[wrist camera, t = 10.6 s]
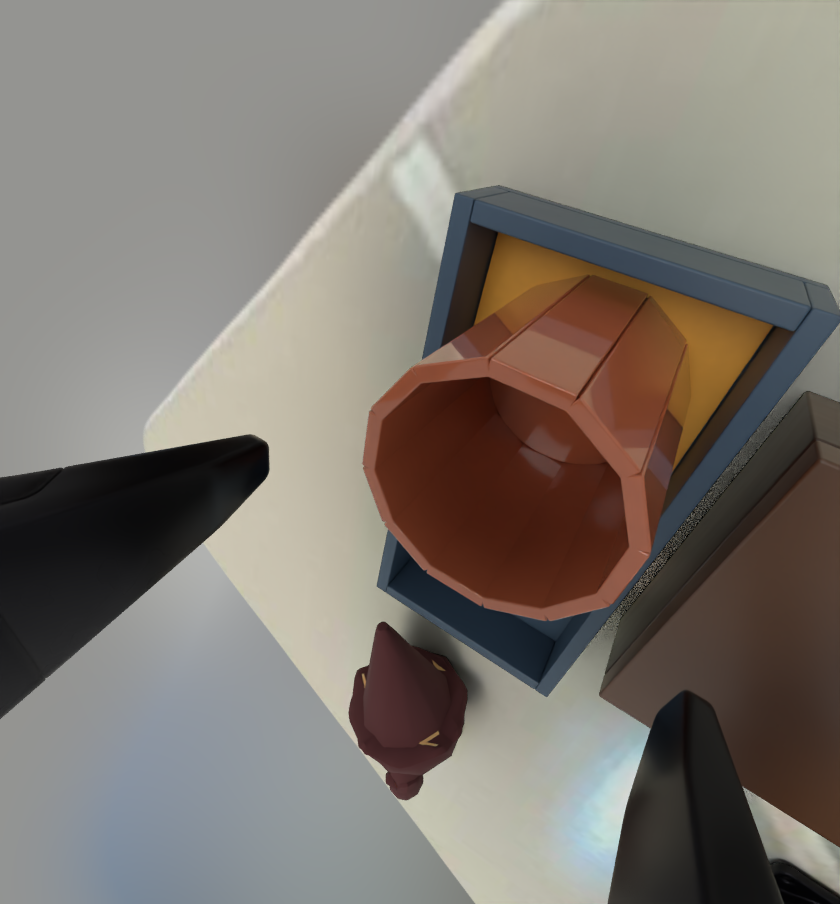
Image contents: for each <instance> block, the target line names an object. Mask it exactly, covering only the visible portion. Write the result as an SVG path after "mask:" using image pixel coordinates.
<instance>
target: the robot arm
mask: <svg viewBox="0 0 840 904" xmlns="http://www.w3.org/2000/svg"><path fill="white" fill-rule="evenodd" d="M268 473H269V446H268V444H267V442H265V441H264V440H262V439H260V438H259V437H257V436H255V435H251V434H250V435H243V436H237V437H232V438H226V439H220V440H215V441H209V442H203V443H198V444H192V445H186V446H181V447H175V448H170V449H164V450H158V451H153V452H147V453H141V454H136V455H130V456H125V457H119V458H113V459H108V460H102V461H96V462H91V463H85V464H79V465H74V466H68V467H65V468H64V469H63V468H56V469H51V470H45V471H40V472H33V473H27V474H21V475H15V476H8V477H1V478H0V719H1V718H2V717H3V716H4V715H5V714H7V713H8V712H9V711H10V710H11V709H12V708H14V707H15V706H16V705H17V704H18V703H19V702H20V701H22V700H23V699H24V698H25V697H26V696H27V695H29V694H30V693H31V692H32V691H33V690H34V689H35V688H37V687H38V686H39V685H40V684H41V683H42V682H43V681H45V678H47V677H49V676H50V675H51V674H52V673H53V672H55V671H56V670H57V669H58V668H59V667H60V666H62V665H63V664H64V663H65V662H66V661H67V660H68V659H70V658H71V657H72V656H73V655H74V654H75V653H76V652H78V651H79V650H80V649H81V648H82V647H83V646H84V645H86V644H87V643H88V642H89V641H90V640H91V639H92V638H93V637H95V636H96V635H97V634H98V633H99V632H101V631H102V630H103V629H104V628H105V627H106V626H107V625H109V624H110V623H111V622H112V621H113V620H114V619H116V618H117V617H118V616H119V615H120V614H121V613H122V612H124V611H125V610H126V609H127V608H128V607H129V606H130V605H132V604H133V603H134V602H135V601H136V600H137V599H138V598H140V597H141V596H142V595H143V594H144V593H145V592H147V591H148V590H149V589H150V588H151V587H152V586H153V585H154V584H156V583H157V582H158V581H159V580H160V579H161V578H162V577H164V576H165V575H166V574H167V573H168V572H169V571H171V570H172V569H173V568H174V567H175V566H176V565H177V564H179V563H180V562H181V561H182V560H183V559H184V558H186V557H187V556H188V555H189V554H190V553H191V552H193V550H195V549H196V548H197V547H198V546H199V545H201V544H202V543H203V542H204V541H205V540H206V539H207V538H209V537H210V536H211V535H212V534H213V533H214V532H215V531H216V530H217V529H219V528H220V527H221V526H222V525H223V524H224V523H225V522H226V521H227V520H228V519H229V518H230V516H231V515H232V514H233V513H234V512H235V511H236V510H237V509H238V508H239V507H240V506H241V505H242V504H243V503H244V502H245V500H246V499H247V498H248V497H249V496H250V495H251V494H252V493H253V492H254V491H255V490H256V489H257V488H258V487H259V486H260V484H261V483H262V482H263V481H264V480H265V479H266V477H267V476H268ZM608 904H840V899H839V898H838V897H836V896H835V895H833V894H832V893H830V892H829V891H827V890H826V889H824V888H823V887H821V886H820V885H818V884H817V883H815V882H814V881H812V880H811V879H809V878H808V877H806V876H805V875H803V874H801V873H800V872H798V871H797V870H795V869H794V868H792V867H790V866H788V865H786V864H782V863H775V864H772V865H770V863H769V861H768V858H767V855H766V852H765V849H764V847H763V844H762V841H761V838H760V835H759V833H758V830H757V827H756V824H755V821H754V819H753V816H752V813H751V810H750V807H749V805H748V802H747V799H746V796H745V793H744V791H743V788H742V785H741V782H740V779H739V777H738V774H737V771H736V768H735V765H734V763H733V760H732V757H731V754H730V751H729V749H728V746H727V743H726V740H725V737H724V734H723V732H722V729H721V726H720V723H719V720H718V718H717V715H716V712H715V710H714V708H713V706H712V705H711V704H710V703H709V702H708V701H707V700H705V699H703V698H702V697H700V696H698V695H696V694H695V693H693V692H691V691H689V690H682V691H681V692H679V693H678V694H677V695H676V696H675V697H673V698H672V699H671V700H670V701H669V702H668V703H666V704H665V705H664V706H663V707H662V708H661V709H660V710H659V711H658V712H657V714H656V716H655V718H654V721H653V724H652V727H651V730H650V733H649V736H648V739H647V742H646V745H645V749H644V752H643V755H642V758H641V761H640V764H639V767H638V770H637V774H636V777H635V780H634V783H633V786H632V789H631V792H630V796H629V799H628V802H627V806H626V810H625V814H624V819H623V824H622V829H621V834H620V840H619V845H618V850H617V856H616V861H615V866H614V872H613V877H612V882H611V888H610V893H609V898H608Z"/></svg>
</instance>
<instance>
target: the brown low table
mask: <svg viewBox="0 0 840 904" xmlns="http://www.w3.org/2000/svg"><path fill="white" fill-rule="evenodd" d="M682 690H689V691H691V692H693V693H695V694H696V695H698V696H700V697H702V698H703V699H705V700H707V701H708V702H709V703H710V704H711V705H712V706H713V708H714V710H715V712H716V715H717V718H718V720H719V723H720V726H721V729H722V732H723V734H724V737H725V740H726V743H727V746H728V749H729V751H730V754H731V757H732V760H733V763H734V765H735V768H736V771H737V774H738V777H739V779H740V782H741V785H742V786H743V787H744V788H746V789H748V790H749V791H751V792H752V793H754V794H756V795H757V796H759V797H760V798H762V799H764V800H765V801H767V802H768V803H770V804H772V805H773V806H775V807H776V808H778V809H779V810H781V811H783V812H784V813H786V814H787V815H789V816H791V817H792V818H794V819H795V820H797V821H799V822H800V823H802V824H803V825H805V826H807V827H808V828H810V829H811V830H813V831H814V832H816V833H818V834H819V835H821V836H822V837H824V838H826V839H827V840H829V841H830V842H832V843H834V844H835V845H837V846H838V847H840V403H839V402H836V401H834V400H831V399H828V398H826V397H823V396H820V395H818V394H815V393H812V392H808V391H807V392H805V393H804V394H803V396H802V397H801V398H800V399H799V401H798V402H797V403H796V404H795V405H794V407H793V408H792V409H791V410H790V412H789V413H788V414H787V415H786V417H785V418H784V419H783V420H782V421H781V423H780V424H779V425H778V426H777V428H776V429H775V430H774V431H773V432H772V434H771V435H770V436H769V437H768V439H767V440H766V441H765V442H764V444H763V445H762V446H761V447H760V448H759V450H758V451H757V452H756V453H755V455H754V456H753V457H752V458H751V460H750V461H749V462H748V463H747V464H746V466H745V467H744V468H743V469H742V471H741V472H740V473H739V474H738V476H737V477H736V478H735V479H734V480H733V482H732V483H731V484H730V485H729V487H728V488H727V489H726V490H725V492H724V493H723V494H722V495H721V496H720V498H719V499H718V500H717V501H716V503H715V504H714V505H713V506H712V507H711V509H710V510H709V511H708V512H707V514H706V515H705V516H704V517H703V519H702V520H701V521H700V522H699V523H698V525H697V526H696V527H695V528H694V530H693V531H692V532H691V533H690V535H689V536H688V537H687V538H686V539H685V541H684V542H683V543H682V544H681V546H680V547H679V548H678V549H677V551H676V552H675V553H674V554H673V555H672V557H671V558H670V559H669V560H668V562H667V563H666V564H665V565H664V566H663V568H662V569H661V570H660V571H659V573H658V574H657V575H656V576H655V578H654V579H653V580H652V581H651V582H650V584H649V585H648V586H647V587H646V589H645V590H644V591H643V592H642V594H641V595H640V596H639V597H638V598H637V600H636V601H635V602H634V603H633V605H632V606H631V607H630V608H629V610H628V611H627V612H626V613H625V614H624V616H623V617H622V618H621V619H620V622H619V625H618V629H617V632H616V636H615V639H614V643H613V646H612V650H611V653H610V657H609V660H608V664H607V667H606V671H605V676H604V678H603V682H602V685H601V689H600V692H599V696H600V697H601V698H603V699H604V700H606V701H608V702H609V703H611V704H612V705H614V706H616V707H617V708H619V709H620V710H622V711H624V712H625V713H627V714H628V715H630V716H632V717H633V718H635V719H636V720H638V721H639V722H641V723H643V724H644V725H646V726H647V727H649V728H651V727H652V724H653V721H654V718H655V716H656V714H657V712H658V711H659V710H660V709H661V708H662V707H663V706H664V705H665V704H666V703H668V702H669V701H670V700H671V699H672V698H673V697H675V696H676V695H677V694H678V693H679V692H681V691H682Z"/></svg>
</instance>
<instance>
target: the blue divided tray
mask: <svg viewBox="0 0 840 904" xmlns="http://www.w3.org/2000/svg"><path fill="white" fill-rule="evenodd" d="M587 274H589V275H590V276H591V275H596V276H599V277H602V278H605V279H607V280H610V281H613V282H616V283H619V284H622V285H625V286H628V287H631V288H634V289H636V290H639V291H642V292H645V293H647V294H648V296H647V297H649V296H652V297H653V299H654V300H655V301H656V302H657V304H658V305H659V306H660V307H661V309H662V310H663V311H664V312H665V314H666V315H667V316H668V317H669V319H670V320H671V321H672V322H673V324H674V325H675V326H676V327H677V329H678V330H679V331H680V332H681V334H682V335H683V336H684V338H685V339H686V340H687V342H686V344H688V347H689V365H690V384H691V399H690V403H689V407H688V411H687V415H686V419H685V423H684V426H683V430H682V434H681V438H680V442H679V446H678V450H677V454H676V457H675V461H674V465H673V469H672V473H671V477H670V481H669V485H668V489H667V492H666V496H665V500H664V504H663V508H662V512H661V516H660V520H659V523H658V527H657V531H656V535H655V539H654V543H653V547H652V550H651V554H650V557H649V558H648V559H647V561H646V562H645V563H644V565H643V566H642V567H641V568H640V570H639V571H638V572H637V574H636V575H635V576H634V578H633V579H632V580H631V582H630V583H629V584H628V586H627V587H626V588H625V589H624V591H623V592H622V593H621V595H620V596H619V597H618V599H617V600H616V601H615V603H614V604H610V606H609V607H606V608H602V609H598V610H594V611H590V612H586V613H582V614H578V615H574V616H570V617H566V618H562V619H558V620H554V621H549V620H548V619H547V621H542V620H538V619H533V618H529V617H524V616H519V615H515V614H510V613H505V612H501V611H496V610H492V609H487V608H484V606H483V605H482V606H479V605H478V604H476V603H474V602H473V601H471V600H469V599H468V598H466V597H465V596H463V595H461V594H460V593H458V592H456V591H455V590H453V589H452V588H450V587H448V586H447V585H445V584H443V583H442V582H440V581H439V580H437V579H435V578H434V577H432V576H430V575H429V574H427V570H425V571H424V570H423V569H422V568H421V567H420V566H419V565H418V563H417V562H416V561H415V560H414V559H413V557H412V556H411V555H410V554H409V553H408V552H407V550H406V549H405V548H404V547H403V546H402V545H401V543H400V542H399V541H398V540H397V539H396V538H395V536H394V535H393V534H392V533H391V532H390V531H389V529H388V532H387V537H386V542H385V547H384V552H383V557H382V562H381V567H380V572H379V577H378V582H377V587H378V588H380V589H381V590H383V591H384V592H386V593H387V594H389V595H391V596H392V597H394V598H395V599H397V600H398V601H400V602H401V603H403V604H404V605H406V606H407V607H409V608H410V609H412V610H414V611H415V612H417V613H418V614H420V615H421V616H423V617H424V618H426V619H427V620H429V621H430V622H432V623H433V624H435V625H437V626H438V627H440V628H441V629H443V630H444V631H446V632H447V633H449V634H450V635H452V636H453V637H455V638H456V639H458V640H460V641H461V642H463V643H464V644H466V645H467V646H469V647H470V648H472V649H473V650H475V651H476V652H478V653H479V654H481V655H483V656H484V657H486V658H487V659H489V660H490V661H492V662H493V663H495V664H496V665H498V666H499V667H501V668H502V669H504V670H506V671H507V672H509V673H510V674H512V675H513V676H515V677H516V678H518V679H519V680H521V681H522V682H524V683H525V684H527V685H528V686H530V687H532V688H533V689H535V690H536V691H538V692H539V693H541V694H542V695H544V696H545V697H547V696H548V695H549V694H550V693H551V691H552V690H553V689H554V687H555V686H556V685H557V684H558V682H559V681H560V680H561V679H562V677H563V676H564V675H565V673H566V672H567V671H568V670H569V668H570V667H571V666H572V664H573V663H574V662H575V661H576V659H577V658H578V657H579V656H580V654H581V653H582V652H583V650H584V649H585V648H586V647H587V645H588V644H589V643H590V641H591V640H592V639H593V638H594V636H595V635H596V634H597V633H598V631H599V630H600V629H601V627H602V626H603V625H604V624H605V622H606V621H607V620H608V618H609V617H610V616H611V615H612V613H613V612H614V611H615V609H616V608H617V607H618V606H619V604H620V603H621V602H622V601H623V599H624V598H625V597H626V595H627V594H628V593H629V592H630V590H631V589H632V588H633V586H634V585H635V584H636V583H637V581H638V580H639V579H640V578H641V576H642V575H643V574H644V572H645V571H646V570H647V569H648V567H649V566H650V565H651V563H652V562H653V561H654V560H655V558H656V557H657V556H658V555H659V553H660V552H661V551H662V549H663V548H664V547H665V546H666V544H667V543H668V542H669V540H670V539H671V538H672V537H673V535H674V534H675V533H676V532H677V530H678V529H679V528H680V526H681V525H682V524H683V523H684V521H685V520H686V519H687V517H688V516H689V515H690V514H691V512H692V511H693V510H694V509H695V507H696V506H697V505H698V503H699V502H700V501H701V500H702V498H703V497H704V496H705V494H706V493H707V492H708V491H709V489H710V488H711V487H712V486H713V484H714V483H715V482H716V480H717V479H718V478H719V477H720V475H721V474H722V473H723V471H724V470H725V469H726V468H727V466H728V465H729V464H730V463H731V461H732V460H733V459H734V457H735V456H736V455H737V454H738V452H739V451H740V450H741V448H742V447H743V446H744V445H745V443H746V442H747V441H748V440H749V438H750V437H751V436H752V434H753V433H754V432H755V431H756V429H757V428H758V427H759V425H760V424H761V423H762V422H763V420H764V419H765V418H766V416H767V415H768V414H769V413H770V411H771V410H772V409H773V408H774V406H775V405H776V404H777V402H778V401H779V400H780V399H781V397H782V396H783V395H784V393H785V392H786V391H787V390H788V388H789V387H790V386H791V385H792V383H793V382H794V381H795V379H796V378H797V377H798V376H799V374H800V373H801V372H802V370H803V369H804V368H805V367H806V365H807V364H808V363H809V362H810V360H811V359H812V358H813V356H814V355H815V354H816V353H817V351H818V350H819V349H820V347H821V346H822V345H823V344H824V342H825V341H826V340H827V339H828V337H829V336H830V335H831V333H832V332H833V331H834V330H835V328H836V327H837V326H838V324H839V323H840V310H839V308H838V306H837V303H836V301H835V299H834V297H833V295H832V293H831V291H830V289H829V287H828V286H827V285H825V284H821V283H818V282H815V281H812V280H808V279H805V278H802V277H798V276H795V275H792V274H789V273H785V272H782V271H779V270H775V269H772V268H769V267H766V266H762V265H759V264H756V263H753V262H749V261H746V260H743V259H739V258H736V257H733V256H730V255H726V254H723V253H720V252H716V251H713V250H710V249H707V248H703V247H700V246H697V245H693V244H690V243H687V242H684V241H680V240H677V239H674V238H671V237H667V236H664V235H661V234H657V233H654V232H651V231H648V230H644V229H641V228H638V227H634V226H631V225H628V224H625V223H621V222H618V221H615V220H612V219H608V218H605V217H602V216H598V215H595V214H592V213H589V212H585V211H582V210H579V209H575V208H572V207H569V206H566V205H562V204H559V203H556V202H552V201H549V200H546V199H543V198H539V197H536V196H533V195H530V194H526V193H523V192H520V191H516V190H513V189H510V188H507V187H503V186H500V185H498V186H492V187H486V188H481V189H475V190H470V191H464V192H459V193H455V197H454V202H453V207H452V212H451V217H450V222H449V227H448V232H447V237H446V242H445V247H444V252H443V257H442V262H441V267H440V272H439V277H438V282H437V287H436V292H435V297H434V302H433V307H432V312H431V317H430V322H429V327H428V332H427V337H426V342H425V347H424V352H423V357H422V360H423V359H424V358H426V357H428V356H429V355H431V354H432V353H434V352H435V351H437V350H438V349H440V348H441V347H443V346H444V345H446V344H447V343H449V342H450V341H452V340H453V339H455V338H456V337H458V336H459V335H461V334H462V333H464V332H465V331H467V330H468V329H470V328H471V327H473V326H474V325H476V324H477V323H479V322H480V321H482V320H484V319H485V318H487V317H488V316H490V315H491V314H493V313H494V312H496V311H497V310H499V309H500V308H502V307H503V306H505V305H506V304H508V303H509V302H511V301H512V300H514V299H515V298H517V297H518V296H520V295H521V294H523V293H524V292H526V291H527V290H529V289H530V288H532V287H534V286H536V285H540V284H544V283H549V282H554V281H559V280H564V279H568V278H573V277H578V276H583V275H587Z"/></svg>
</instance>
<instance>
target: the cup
mask: <svg viewBox="0 0 840 904" xmlns="http://www.w3.org/2000/svg"><path fill="white" fill-rule="evenodd" d="M647 296H648V294H647V293H645V292H642V291H639V290H636V289H634V288H631V287H628V286H625V285H622V284H619V283H616V282H613V281H610V280H607V279H605V278H602V277H599V276H596V275H591V276H590V275H589V274H587V275H583V276H578V277H573V278H568V279H564V280H559V281H554V282H549V283H544V284H540V285H536V286H534V287H532V288H530V289H529V290H527V291H526V292H524V293H523V294H521V295H520V296H518V297H517V298H515V299H514V300H512V301H511V302H509V303H508V304H506V305H505V306H503V307H502V308H500V309H499V310H497V311H496V312H494V313H493V314H491V315H490V316H488V317H487V318H485V319H484V320H482V321H480V322H479V323H477V324H476V325H474V326H473V327H471V328H470V329H468V330H467V331H465V332H464V333H462V334H461V335H459V336H458V337H456V338H455V339H453V340H452V341H450V342H449V343H447V344H446V345H444V346H443V347H441V348H440V349H438V350H437V351H435V352H434V353H432V354H431V355H429V356H428V357H426V358H424V359H423V360H421V361H420V362H418V363H417V364H415V365H414V366H412V367H411V368H410V369H409V370H408V371H407V372H406V373H405V374H404V375H403V376H402V377H401V378H400V379H399V380H398V381H397V382H396V383H395V384H394V385H393V386H392V387H391V388H390V389H389V390H388V391H387V392H386V393H385V394H384V395H383V396H382V397H381V398H380V399H379V400H378V401H377V402H376V403H375V404H374V405H373V406H372V407H371V410H370V411H369V417H368V424H367V432H366V440H365V448H364V455H363V463H362V464H363V465H364V467H363V470H364V473H365V475H366V478H367V481H368V484H369V486H370V489H371V492H372V494H373V497H374V500H375V503H376V505H377V508H378V511H379V513H380V516H381V519H382V521H383V522H385V526H386V527H387V528H388V529H389V531H390V532H391V533H392V534H393V535H394V536H395V538H396V539H397V540H398V541H399V542H400V543H401V545H402V546H403V547H404V548H405V549H406V550H407V552H408V553H409V554H410V555H411V556H412V557H413V559H414V560H415V561H416V562H417V563H418V565H419V566H420V567H421V568H422V569H423V570H424V571H425V570H427V574H429V575H430V576H432V577H434V578H435V579H437V580H439V581H440V582H442V583H443V584H445V585H447V586H448V587H450V588H452V589H453V590H455V591H456V592H458V593H460V594H461V595H463V596H465V597H466V598H468V599H469V600H471V601H473V602H474V603H476V604H478V605H479V606H482V605H483V606H484V608H487V609H492V610H496V611H501V612H505V613H510V614H515V615H519V616H524V617H529V618H533V619H538V620H542V621H547V619H548V620H549V621H554V620H558V619H562V618H566V617H570V616H574V615H578V614H582V613H586V612H590V611H594V610H598V609H602V608H606V607H609V606H610V604H614V603H615V601H616V600H617V599H618V597H619V596H620V595H621V593H622V592H623V591H624V589H625V588H626V587H627V586H628V584H629V583H630V582H631V580H632V579H633V578H634V576H635V575H636V574H637V572H638V571H639V570H640V568H641V567H642V566H643V565H644V563H645V562H646V561H647V559H648V558H649V557H650V554H651V550H652V547H653V543H654V539H655V535H656V531H657V527H658V523H659V520H660V516H661V512H662V508H663V504H664V500H665V496H666V492H667V489H668V485H669V481H670V477H671V473H672V469H673V465H674V461H675V457H676V454H677V450H678V446H679V442H680V438H681V434H682V430H683V426H684V423H685V419H686V415H687V411H688V407H689V403H690V399H691V384H690V365H689V347H688V344H686V342H687V340H686V339H685V338H684V336H683V335H682V334H681V332H680V331H679V330H678V329H677V327H676V326H675V325H674V324H673V322H672V321H671V320H670V319H669V317H668V316H667V315H666V314H665V312H664V311H663V310H662V309H661V307H660V306H659V305H658V304H657V302H656V301H655V300H654V299H653V297H652V296H649V297H647Z"/></svg>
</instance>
